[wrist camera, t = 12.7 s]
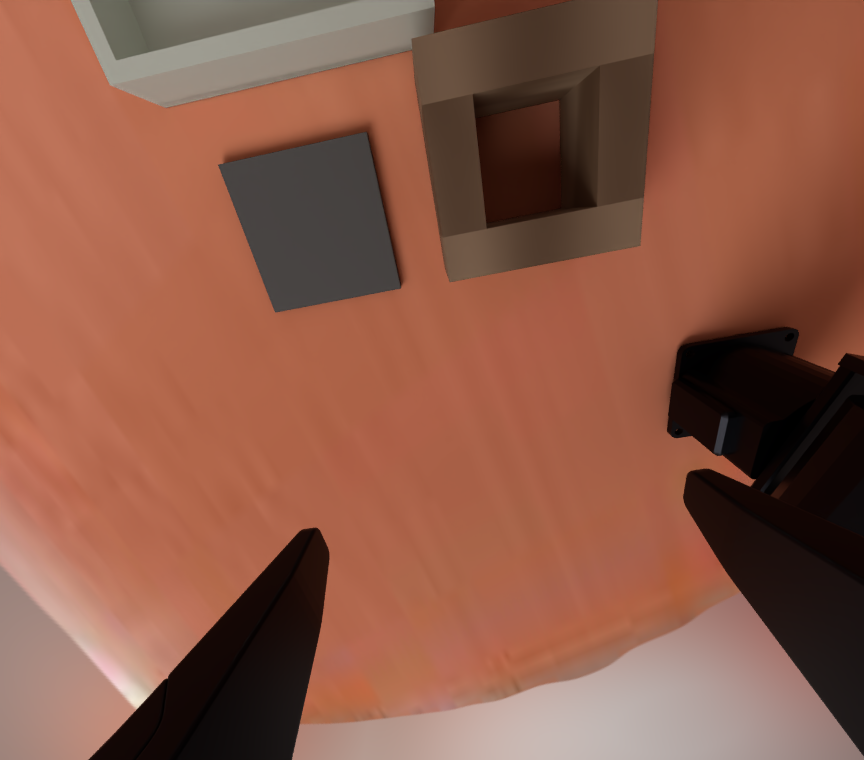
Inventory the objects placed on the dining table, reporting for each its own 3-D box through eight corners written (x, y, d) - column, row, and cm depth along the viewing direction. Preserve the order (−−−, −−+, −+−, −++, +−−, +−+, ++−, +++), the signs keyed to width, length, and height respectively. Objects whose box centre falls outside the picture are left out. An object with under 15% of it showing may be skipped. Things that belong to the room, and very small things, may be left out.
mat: (367, 133, 16) (366, 131, 16) (401, 287, 19) (400, 288, 19) (222, 165, 16) (218, 164, 16) (277, 310, 19) (275, 312, 19)
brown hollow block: (601, 37, 15) (659, -20, 11) (597, 239, 18) (640, 245, 14) (414, 80, 15) (411, 38, 11) (445, 268, 19) (449, 282, 15)
